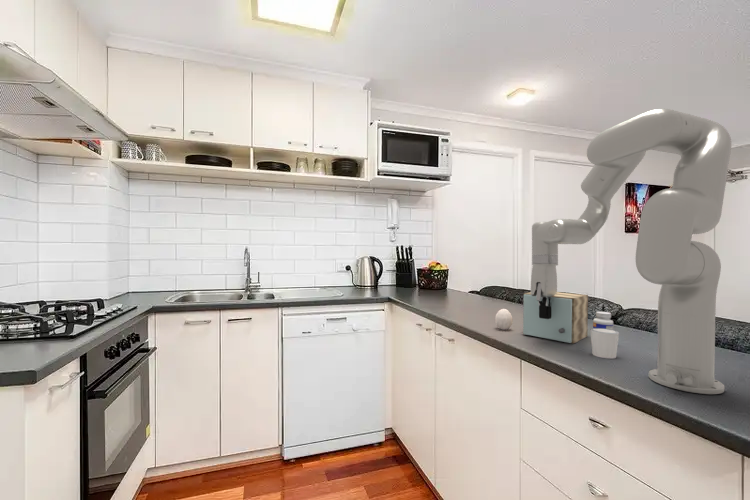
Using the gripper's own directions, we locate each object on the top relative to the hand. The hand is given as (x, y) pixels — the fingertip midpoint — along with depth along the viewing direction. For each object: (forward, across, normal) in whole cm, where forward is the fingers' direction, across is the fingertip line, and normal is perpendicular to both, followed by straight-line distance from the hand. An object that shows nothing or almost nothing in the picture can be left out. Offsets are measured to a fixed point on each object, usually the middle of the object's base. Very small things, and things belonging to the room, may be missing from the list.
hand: (545, 318), depth 112 cm
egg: (+7, -7, -17) cm, 20 cm away
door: (+7, -3, -1) cm, 8 cm away
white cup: (+8, +2, +17) cm, 19 cm away
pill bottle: (+8, -13, +13) cm, 20 cm away
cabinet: (+8, -12, -1) cm, 14 cm away
